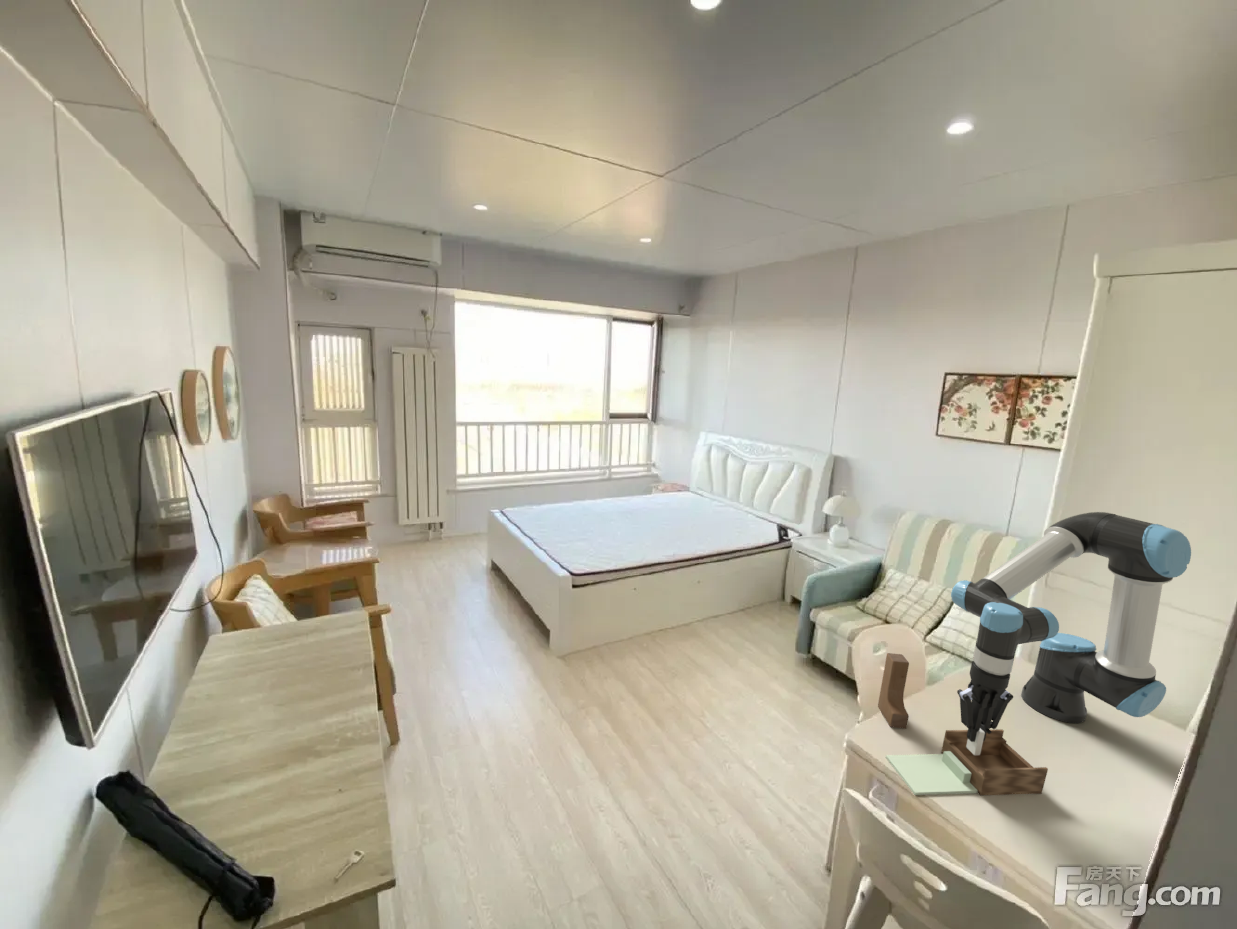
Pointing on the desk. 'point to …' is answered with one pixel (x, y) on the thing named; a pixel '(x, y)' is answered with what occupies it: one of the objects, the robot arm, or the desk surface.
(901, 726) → the wooden block
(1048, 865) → the desk surface
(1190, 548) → the robot arm
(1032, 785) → the box
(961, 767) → the lid
